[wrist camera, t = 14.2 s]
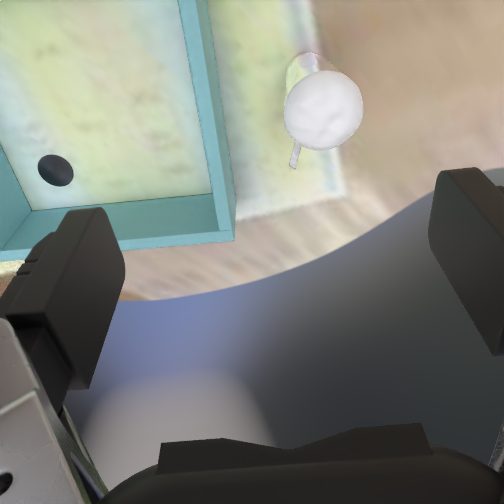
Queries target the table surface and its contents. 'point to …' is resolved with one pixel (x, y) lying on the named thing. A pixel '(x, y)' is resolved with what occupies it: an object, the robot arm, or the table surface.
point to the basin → (145, 211)
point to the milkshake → (319, 104)
